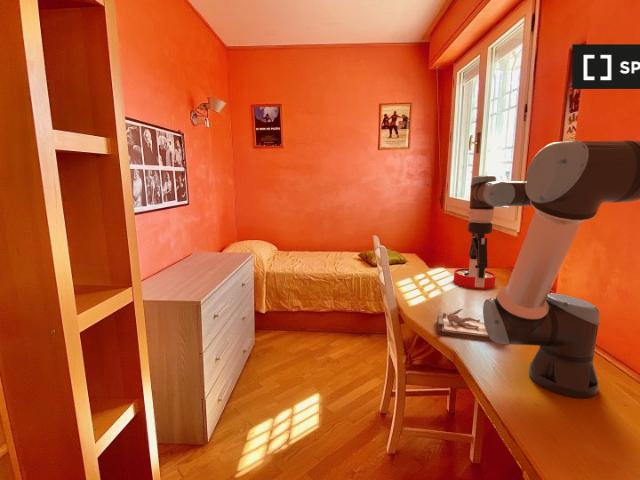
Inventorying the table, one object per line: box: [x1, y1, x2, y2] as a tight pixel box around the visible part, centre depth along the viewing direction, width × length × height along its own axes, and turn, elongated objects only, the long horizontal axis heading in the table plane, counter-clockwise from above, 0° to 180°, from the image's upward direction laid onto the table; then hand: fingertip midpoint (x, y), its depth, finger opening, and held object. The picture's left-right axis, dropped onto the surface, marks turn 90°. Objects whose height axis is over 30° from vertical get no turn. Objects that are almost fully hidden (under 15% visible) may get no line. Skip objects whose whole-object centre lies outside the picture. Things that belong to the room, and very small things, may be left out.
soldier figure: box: [442, 308, 481, 328], centre depth 123 cm, size 8×5×12 cm
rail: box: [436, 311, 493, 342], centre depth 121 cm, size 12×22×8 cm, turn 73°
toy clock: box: [453, 267, 496, 290], centre depth 180 cm, size 20×6×20 cm
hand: (475, 281), depth 120 cm, fingers open, 13 cm apart
